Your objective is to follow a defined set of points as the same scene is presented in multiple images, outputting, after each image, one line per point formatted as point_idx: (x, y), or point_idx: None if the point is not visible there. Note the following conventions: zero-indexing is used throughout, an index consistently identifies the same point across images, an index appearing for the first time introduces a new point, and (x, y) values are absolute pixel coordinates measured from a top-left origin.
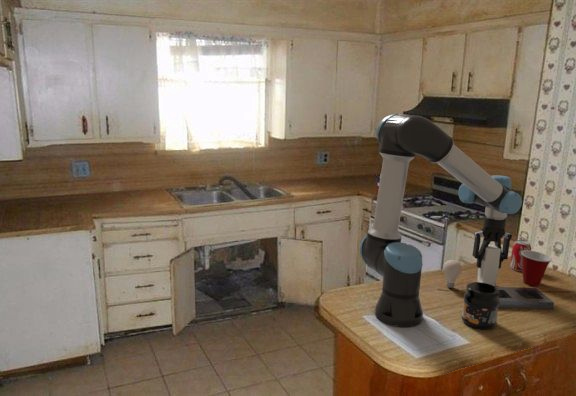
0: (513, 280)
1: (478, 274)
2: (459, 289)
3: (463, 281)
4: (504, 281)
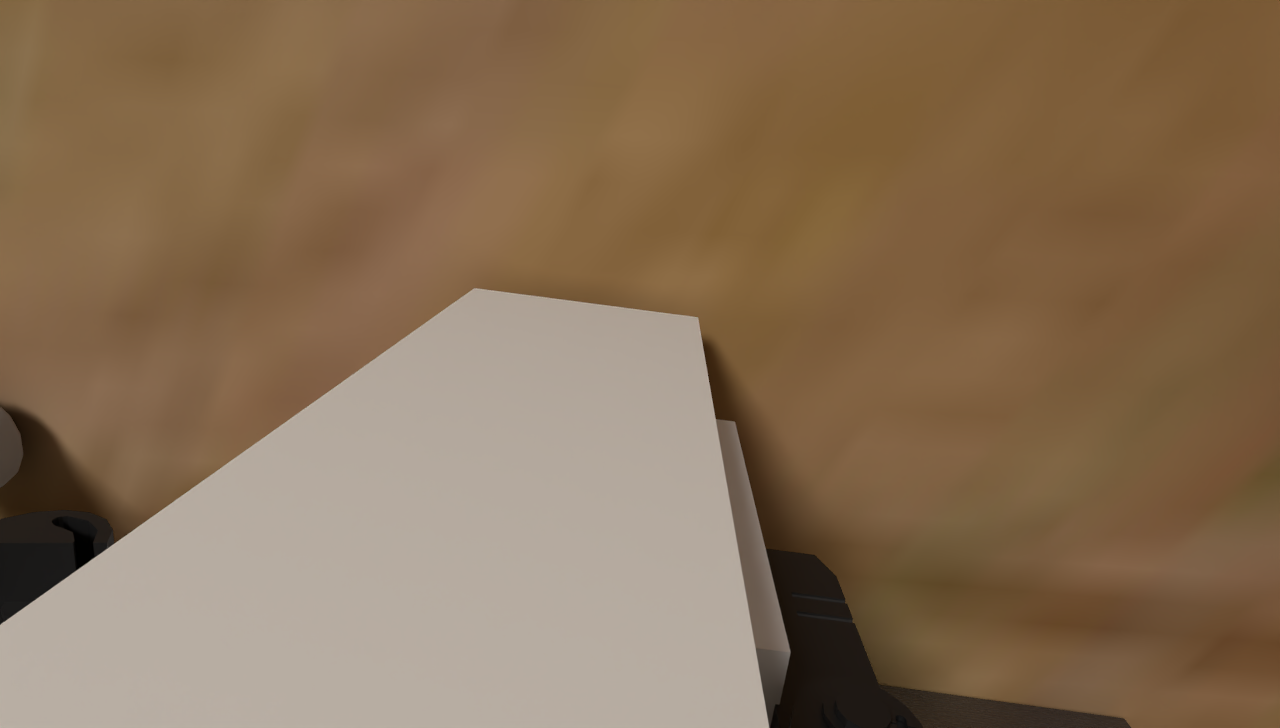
0: (1209, 231)
1: None
2: (116, 493)
3: (275, 213)
4: (1005, 263)
